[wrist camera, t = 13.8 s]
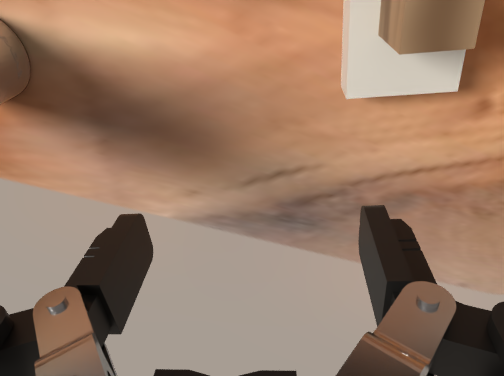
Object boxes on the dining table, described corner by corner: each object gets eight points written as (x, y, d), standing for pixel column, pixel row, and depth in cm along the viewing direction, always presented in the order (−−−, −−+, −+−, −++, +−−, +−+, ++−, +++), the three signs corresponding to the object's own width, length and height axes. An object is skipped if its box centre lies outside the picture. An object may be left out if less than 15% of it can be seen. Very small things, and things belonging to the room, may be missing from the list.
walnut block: (378, 35, 32) (399, 54, 26) (383, -32, 29) (408, -27, 24) (439, 30, 32) (474, 48, 26) (450, -39, 29) (492, -36, 23)
